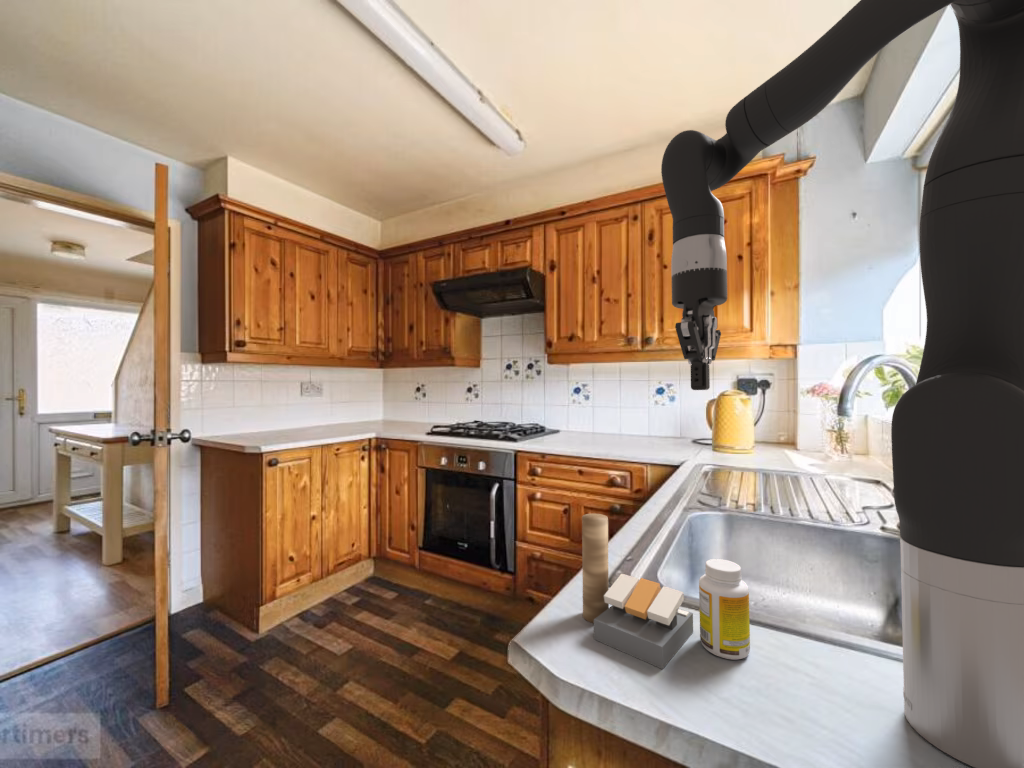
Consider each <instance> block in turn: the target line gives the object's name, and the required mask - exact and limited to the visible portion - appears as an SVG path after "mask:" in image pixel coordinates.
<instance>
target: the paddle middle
mask: <svg viewBox="0 0 1024 768" xmlns="http://www.w3.org/2000/svg"><path fill="white" fill-rule="evenodd" d="M661 589H662V587H661V583H660V582H656V581H652V580H649V579H646V578H642V577H640V578H639V582H638V584H637V586H636V587H635V589H634V591H633V593H632V594H631V596H630V598H629V600H628V601H627V603H626V605H625V610H626V613H629V614H632V615H634V616H637V617H640V618H643V619H646V617H647V616H648V614H647V610H648V609H649V607H650V606H651V604H652V603H653V601H654V600H655V598H656V597H657V595H658V594H659V592H660V590H661Z"/></svg>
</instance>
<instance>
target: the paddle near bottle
mask: <svg viewBox="0 0 1024 768" xmlns="http://www.w3.org/2000/svg"><path fill="white" fill-rule="evenodd" d="M684 595H685V594H684V591H681V590H677V589H674V588H672V587H668V586H665V585H663V586H662V587H661V590H660V592H659V594H658V595H657V597H656V598H655V600H654V601H653V603H652V604H651V606H650V607H649V609H648V610H647V614H648V618H649V619H652V620H655V621H657V622H660V623H663V624H666V625H668V626H669V625H670V623H671V621H672V620H673V618H674V616H677V615H678V609H680V608H681V605H682V604H683V602H684V600H685V596H684Z"/></svg>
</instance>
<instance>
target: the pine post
mask: <svg viewBox="0 0 1024 768" xmlns="http://www.w3.org/2000/svg"><path fill="white" fill-rule="evenodd" d="M581 523H582V524H581V534H582V535H581V540H582V541H581V543H582V544H581V545H582V546H581V547H582V553H581V555H582V556H581V557H582V566H581V567H582V618H583V619H584V620H585V621H587V622H589V623H591V624H594V619H595V618H596V617H598V616H599V615H600V614H602V613H603V612H604V611H606V610H607V609H608V608H610V607H609V606H610V604H608V603H605V601H604V595H605V594H606V592H607V591H608V590H609V589H610V587H609V585H610V583H609V518H608V516H607V515H605V514H601V513H585V514H583V515H582V516H581Z"/></svg>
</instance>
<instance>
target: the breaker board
mask: <svg viewBox="0 0 1024 768" xmlns="http://www.w3.org/2000/svg"><path fill="white" fill-rule="evenodd" d="M693 633H694V613H693V612H690V611H689V610H688V611H687V610H684V609H681V608H679V609H678V615H677V616H674V618H673V620H672V621H671V623H670V625H669V626H668V625H666V624H663V623H660V622H657V621H655V620H652V619H649V618H648V616H647V617H646V619H643V618H640V617H637V616H634V615H632V614H629V613H626V610H625V607H624V608H623V609H621V608H619V607H616V606H613V605H611V606H610V607H609V608H608V609H607V610H606V611H604V612H603V613H602V614H600V615H599V616H598V617H596V618H595V619H594V623H593V640H595V641H597V642H599V643H601V644H605V646H609V647H611V648H613V649H616V650H618V651H620V652H623V653H624V654H627V655H629V656H632V657H633V658H636V659H637V660H638V659H639V660H641V661H643V662H645V663H648V664H650V665H652V666H655V667H656V668H659V669H661V670H663V669H664V668H665V667H666V665H667V664H668V663H669V662H670V661H671V660H672V658H673V657H674V656H675V655H676V654H677V653H678V651H679V650H681V648H682V647H683V646H684V644H685V643H686V642H687V641H688V640H689V638H690V637H691V636H692V634H693Z"/></svg>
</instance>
